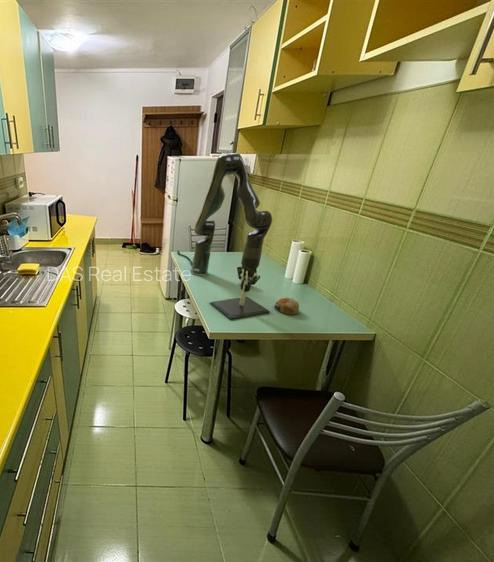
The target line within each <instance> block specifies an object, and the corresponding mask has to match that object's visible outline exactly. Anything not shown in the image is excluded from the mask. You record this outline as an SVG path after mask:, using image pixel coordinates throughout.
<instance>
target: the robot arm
mask: <svg viewBox="0 0 494 562" xmlns="http://www.w3.org/2000/svg"><path fill="white" fill-rule="evenodd" d="M231 175H235V176H236V178H237V181H238V184H237V190H236V194H237V195H236V196H237V199H238V202H240V205H241V207H242V208H243V213H244V220H245V223H246V225H247V226H248V227H250V228H252V229H254V230H252V231H250V232H249V233H248V234H247V236H246V240H245V245H244V248H243V252H242V256H241V262H240V264H241V266H237V267H236V271H237V277H238V280H240V282H241V283H240V290H242V289H243V284H244V280H246V284H245V289H244V291H245V292H246V293H248V292H250V290H251V286H254V285H255V284H257V282H258V281H259V280H260V279H261V275H258V271H257V270H258V268H259V266H260V262H261V257H262V252H263V246H264V240H265V237H266V236H267V234H268V233H269V230H270V228H271V226H272V222H273V216H272V213H271V212H270V211H269V210H257V209H258V208H259V207H260V205H261V202H260V199H259V197H258V195H257V193H256V192H255V190H254V188H253V186H252V182H251V181H250V178H249V177H250V176H249V173H248V171H247V168H246V165H245V162H244V159H243V157H242V155H241V154H240V153H238V152H233V153H226V154H221V155H220V156H218V157H217V159H216V161H215V164H214V167H213V173H212V176H211V180H210V184H209V187H208V190H207V193H206V196H205V199H204V202H203V205H202V208H201V211H200V213H199V214H198V217H197V219H196V221H195V224H194V234H195V235H196V236H204V237H202V238H200V239H198V240H195V244H194V253H193V257H192V260H191V258H190V257H188V256H187V255H185V254H182V253H180V250H179V249H177V251H176V252H177V254H178V255H179V256H182V257H185V258H186V259H187V260H188V261H189V262H190V265H191V273H192V274H193V275H195V276H207V275H208V270H209V265H210V258H211V251H212V245H213V240H214V236H215V230H216V221H215V220H214V219H209V218H211V216H213V215H214V214H216V213H217V212H218V211H219V210H220V209H221V207H222V205H223V203H224V201H225V198H226V197H225V196H226V193H225V190H224V186H223V181H224V178H225V177H226V176H231ZM249 280H250V281H249Z"/></svg>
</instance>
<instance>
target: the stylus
mask: <svg viewBox="0 0 494 562" xmlns="http://www.w3.org/2000/svg"><path fill="white" fill-rule="evenodd" d="M245 284H246V280H244V284H243V289H242V291H241V295H240V298H241V299H240V305H241V306H243V305H244V302H245V297H247V292H245V291H244V289H245Z"/></svg>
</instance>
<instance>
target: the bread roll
mask: <svg viewBox="0 0 494 562" xmlns="http://www.w3.org/2000/svg"><path fill="white" fill-rule="evenodd" d="M274 308H275V309H276V310H277V311H278V312H280V313H281V314H285V315H291V316H292V315H293V316H294V315H298V314H299V310H300V305H299V302H298V301H297V300H296V299H294V298H291V297H283V298H280V299H279V300H277V301H275V305H274Z"/></svg>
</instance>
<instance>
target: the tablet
mask: <svg viewBox="0 0 494 562" xmlns="http://www.w3.org/2000/svg"><path fill="white" fill-rule="evenodd" d="M240 299H241V297H235V298H229V299H222V300H216V301H210V302H209V305H211V306H212V307H214V308H215V309H216V310H218V312H220V313H221V314H222V315H224V316H225V317H226V318H227V319H229V320H237V319H244V318H248V317H254V316H260V315H266V314H270V312H271V311H270V310H269V309H267V308H266V307H264V306H262V305H261V304H260V303H258V302H256V301H254V300H253V299H251V298H250V297H248V296H246V297H245V302H244V305H243V306H241V305H240Z"/></svg>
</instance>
